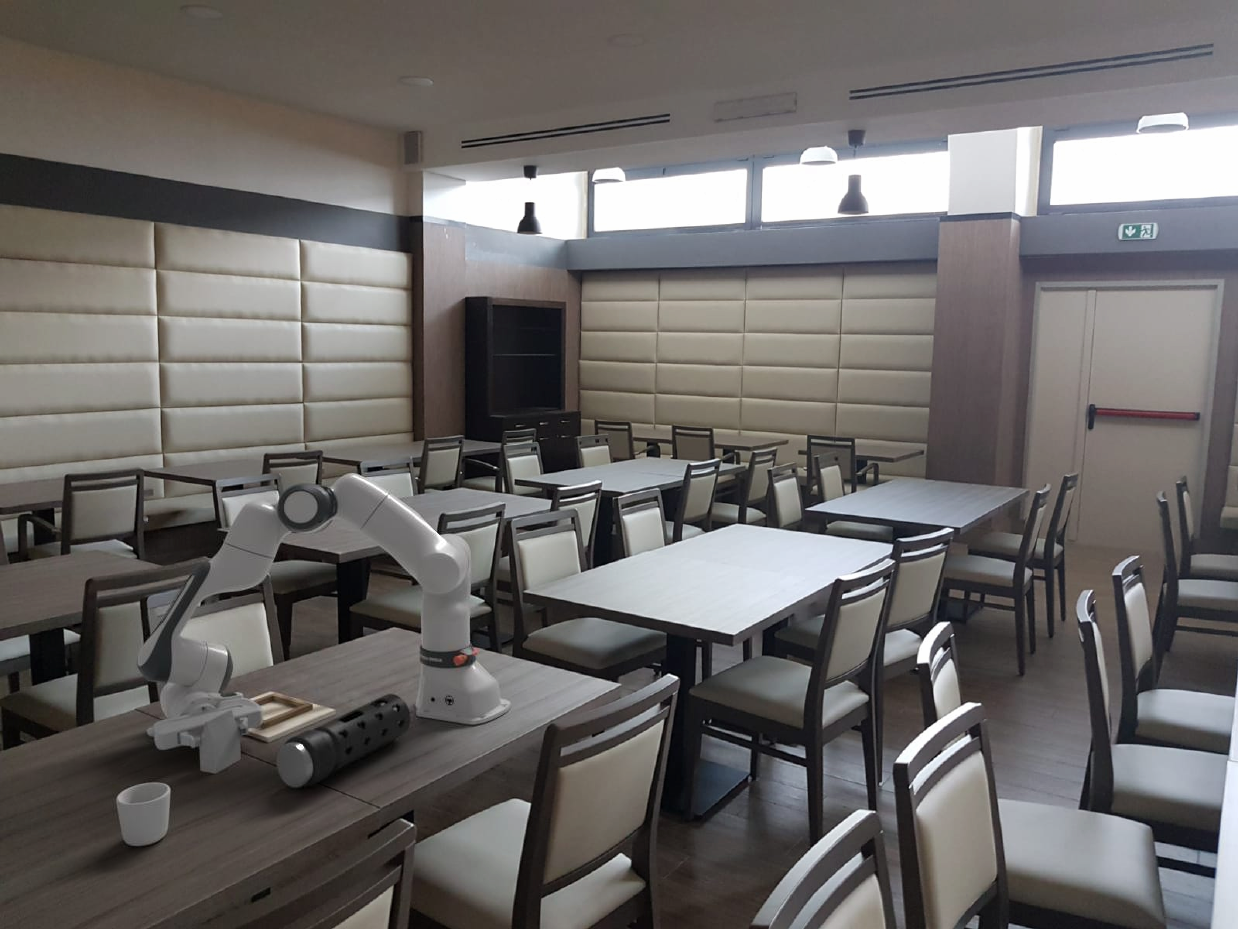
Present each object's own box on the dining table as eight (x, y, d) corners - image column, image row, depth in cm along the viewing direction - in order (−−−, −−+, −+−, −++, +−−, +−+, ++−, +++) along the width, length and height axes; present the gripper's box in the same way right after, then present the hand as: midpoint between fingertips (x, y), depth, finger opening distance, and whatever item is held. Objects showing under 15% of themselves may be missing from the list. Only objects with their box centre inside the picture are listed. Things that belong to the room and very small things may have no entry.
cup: (138, 819, 158) (136, 775, 157) (186, 817, 158) (184, 773, 157) (109, 852, 147) (107, 805, 146) (160, 850, 148) (158, 804, 147)
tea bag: (240, 759, 182) (238, 711, 180) (215, 773, 175) (213, 723, 174) (225, 756, 183) (223, 708, 182) (200, 770, 176) (198, 721, 175)
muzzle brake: (412, 744, 190) (411, 696, 189) (311, 801, 165) (309, 746, 164) (377, 735, 194) (376, 688, 193) (273, 789, 169) (271, 736, 168)
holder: (335, 714, 205) (335, 704, 205) (268, 742, 190) (268, 731, 189) (270, 695, 216) (270, 686, 216) (202, 720, 201) (202, 710, 201)
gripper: (143, 713, 181) (162, 735, 170) (248, 690, 194) (272, 709, 184) (145, 744, 182) (164, 767, 171) (249, 718, 195) (273, 739, 185)
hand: (221, 737), depth 178 cm, fingers closed on tea bag, 8 cm apart
